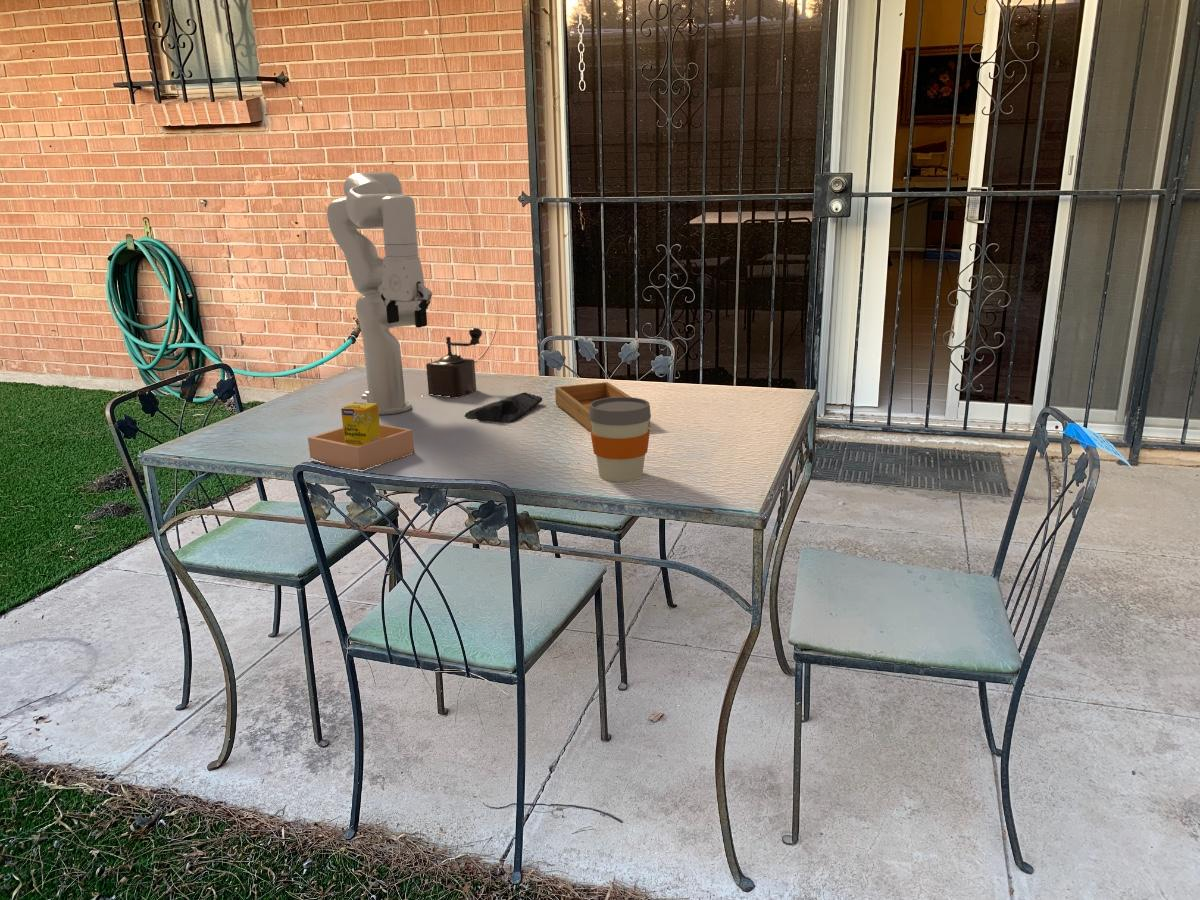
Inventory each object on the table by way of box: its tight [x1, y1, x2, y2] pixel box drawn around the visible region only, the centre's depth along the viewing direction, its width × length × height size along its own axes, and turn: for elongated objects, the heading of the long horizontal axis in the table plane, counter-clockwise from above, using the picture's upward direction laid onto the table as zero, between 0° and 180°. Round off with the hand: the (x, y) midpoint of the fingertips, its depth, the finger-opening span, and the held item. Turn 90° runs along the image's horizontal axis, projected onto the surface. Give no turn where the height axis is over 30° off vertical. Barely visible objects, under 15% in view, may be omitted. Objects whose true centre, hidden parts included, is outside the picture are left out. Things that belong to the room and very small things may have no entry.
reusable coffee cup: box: [589, 396, 652, 483], centre depth 178 cm, size 13×13×15 cm
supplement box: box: [340, 401, 381, 446], centre depth 194 cm, size 6×6×11 cm
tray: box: [554, 381, 651, 433], centre depth 225 cm, size 31×15×6 cm, turn 19°
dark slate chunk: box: [464, 391, 543, 423], centre depth 232 cm, size 15×22×5 cm
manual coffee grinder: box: [425, 327, 483, 398], centre depth 255 cm, size 16×11×18 cm
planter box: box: [307, 423, 415, 470], centre depth 195 cm, size 16×16×6 cm
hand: (407, 324), depth 208 cm, fingers open, 9 cm apart
